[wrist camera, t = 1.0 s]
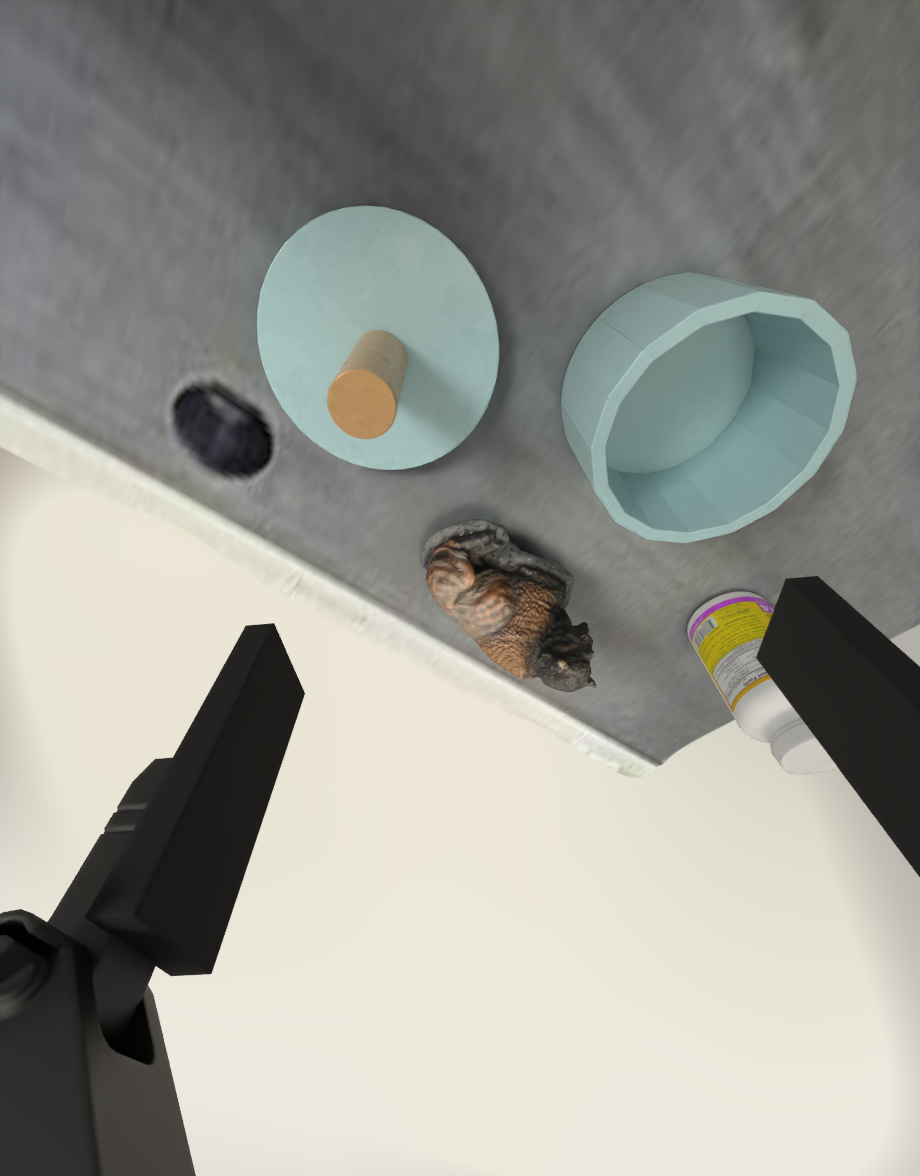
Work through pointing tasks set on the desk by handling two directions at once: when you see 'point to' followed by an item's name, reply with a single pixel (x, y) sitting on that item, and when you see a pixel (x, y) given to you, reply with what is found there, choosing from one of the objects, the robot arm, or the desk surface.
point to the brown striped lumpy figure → (509, 603)
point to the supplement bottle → (752, 679)
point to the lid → (378, 337)
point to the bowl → (705, 403)
